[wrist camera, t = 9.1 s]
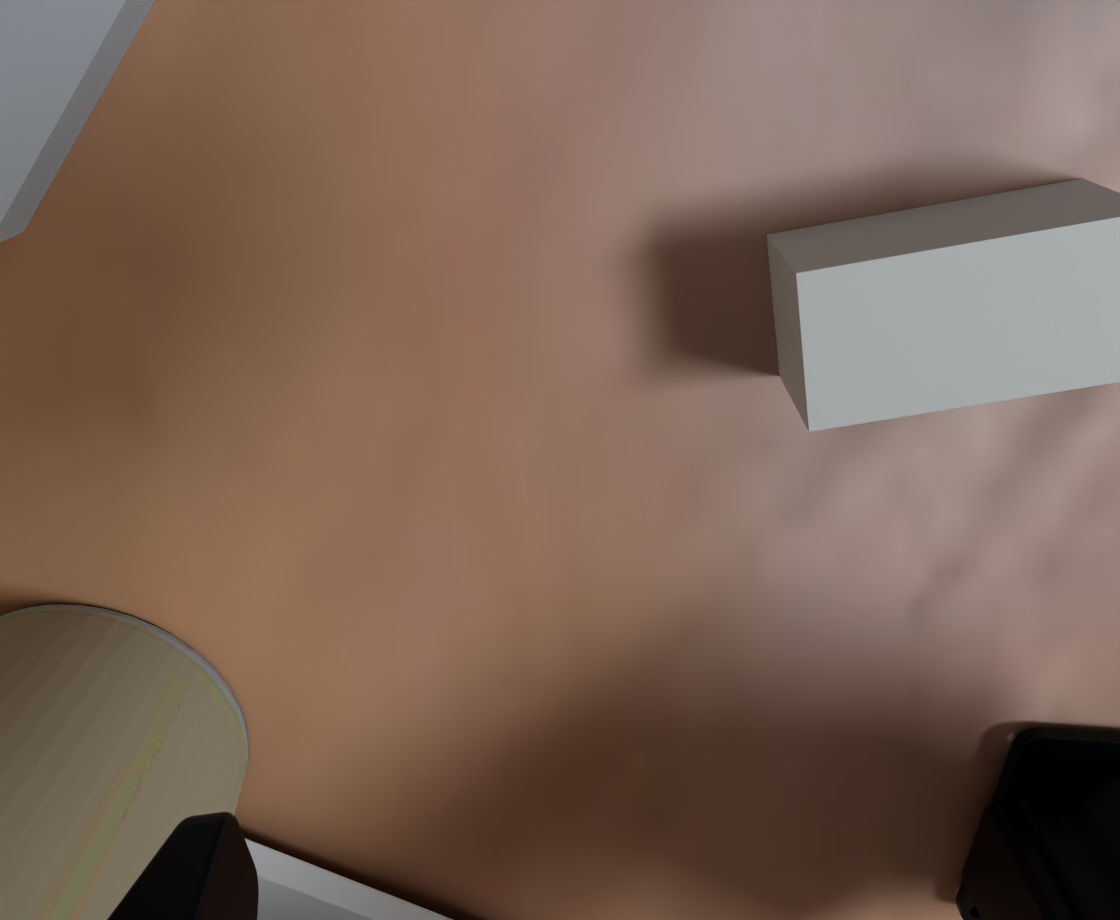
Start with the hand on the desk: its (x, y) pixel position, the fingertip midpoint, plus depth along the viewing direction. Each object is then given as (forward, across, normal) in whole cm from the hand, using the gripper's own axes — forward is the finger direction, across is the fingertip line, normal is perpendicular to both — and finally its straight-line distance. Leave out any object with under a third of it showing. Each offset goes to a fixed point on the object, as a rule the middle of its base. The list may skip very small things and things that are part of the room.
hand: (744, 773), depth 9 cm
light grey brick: (+12, -7, +1) cm, 14 cm away
